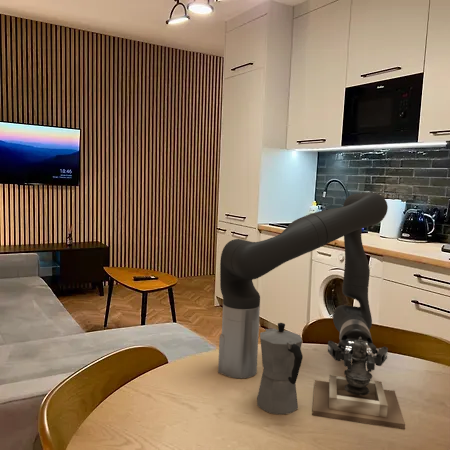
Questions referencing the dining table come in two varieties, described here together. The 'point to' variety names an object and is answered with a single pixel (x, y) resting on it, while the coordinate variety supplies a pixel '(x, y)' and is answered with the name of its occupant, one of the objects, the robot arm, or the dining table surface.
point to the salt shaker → (358, 370)
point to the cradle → (357, 403)
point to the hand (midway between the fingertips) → (359, 366)
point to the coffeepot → (279, 370)
